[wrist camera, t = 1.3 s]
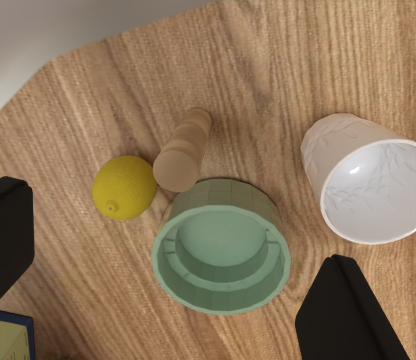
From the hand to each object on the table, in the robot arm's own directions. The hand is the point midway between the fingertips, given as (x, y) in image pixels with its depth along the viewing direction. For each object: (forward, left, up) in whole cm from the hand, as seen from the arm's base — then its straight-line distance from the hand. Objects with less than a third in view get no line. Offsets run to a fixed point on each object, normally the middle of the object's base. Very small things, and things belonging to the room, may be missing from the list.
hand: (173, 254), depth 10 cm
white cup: (+12, 0, -21) cm, 24 cm away
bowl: (+5, -12, -21) cm, 25 cm away
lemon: (-6, -8, -21) cm, 23 cm away
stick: (-1, -1, -21) cm, 21 cm away
